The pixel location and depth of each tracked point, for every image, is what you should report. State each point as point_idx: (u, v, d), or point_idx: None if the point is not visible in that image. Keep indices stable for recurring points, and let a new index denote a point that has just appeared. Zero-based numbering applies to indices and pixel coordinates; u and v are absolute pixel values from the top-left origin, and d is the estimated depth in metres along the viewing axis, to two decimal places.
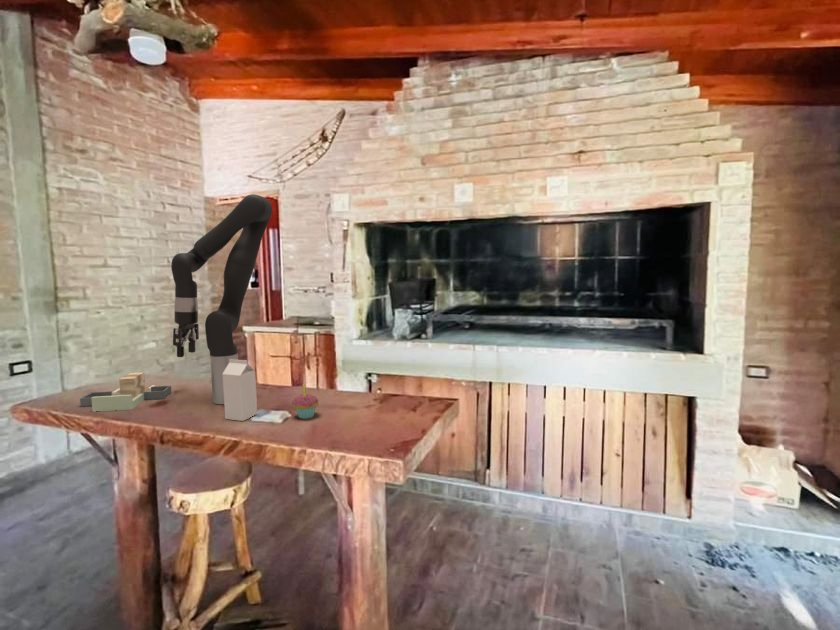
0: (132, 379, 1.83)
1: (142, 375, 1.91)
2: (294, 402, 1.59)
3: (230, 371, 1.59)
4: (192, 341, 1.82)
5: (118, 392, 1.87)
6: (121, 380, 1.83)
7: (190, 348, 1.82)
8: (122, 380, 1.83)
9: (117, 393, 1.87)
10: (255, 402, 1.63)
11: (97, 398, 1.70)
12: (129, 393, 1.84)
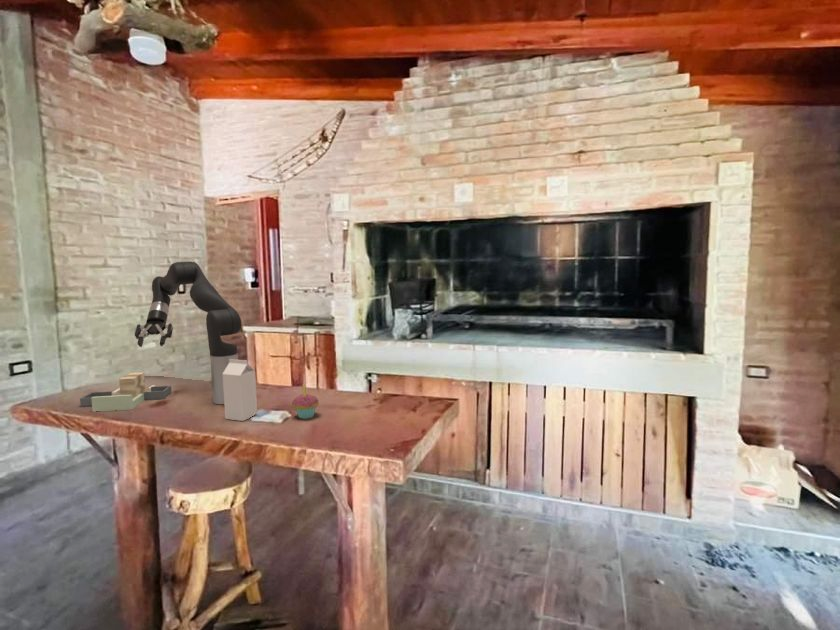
0: (132, 379, 1.83)
1: (142, 375, 1.91)
2: (294, 402, 1.59)
3: (230, 371, 1.59)
4: None
5: (118, 392, 1.87)
6: (121, 380, 1.83)
7: None
8: (122, 380, 1.83)
9: (117, 393, 1.87)
10: (255, 402, 1.63)
11: (97, 398, 1.70)
12: (129, 393, 1.84)
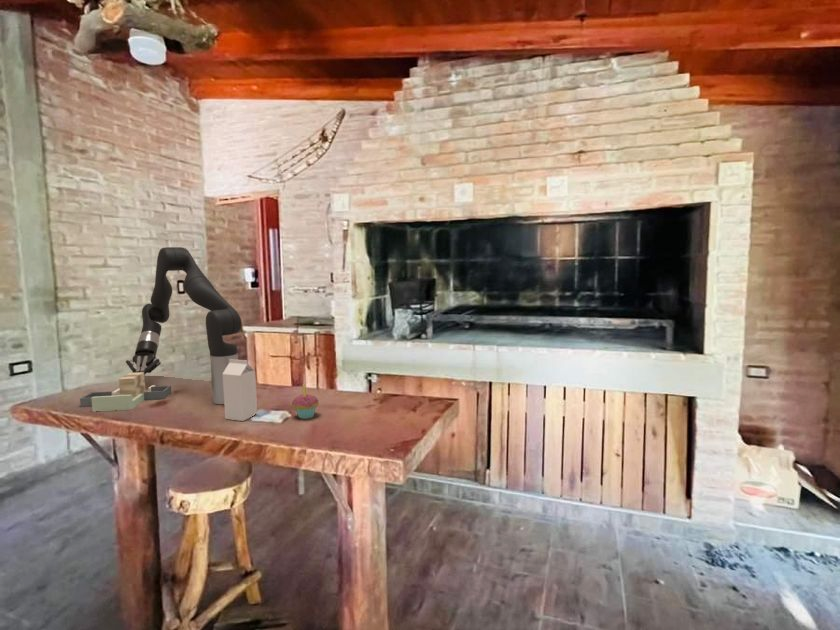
0: (132, 379, 1.83)
1: (142, 375, 1.91)
2: (294, 402, 1.59)
3: (230, 371, 1.59)
4: None
5: (118, 392, 1.87)
6: (121, 380, 1.82)
7: None
8: (122, 380, 1.83)
9: (117, 393, 1.87)
10: (255, 402, 1.63)
11: (97, 398, 1.70)
12: (129, 393, 1.83)
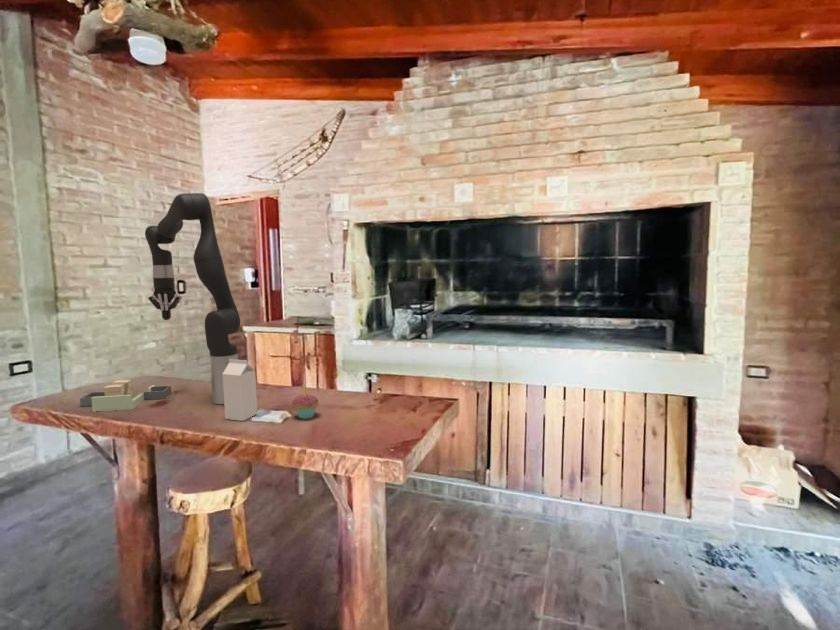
0: (118, 387, 1.72)
1: (129, 383, 1.80)
2: (294, 402, 1.59)
3: (230, 371, 1.59)
4: None
5: None
6: (106, 388, 1.71)
7: None
8: (107, 388, 1.71)
9: None
10: (255, 402, 1.63)
11: (97, 398, 1.70)
12: None
